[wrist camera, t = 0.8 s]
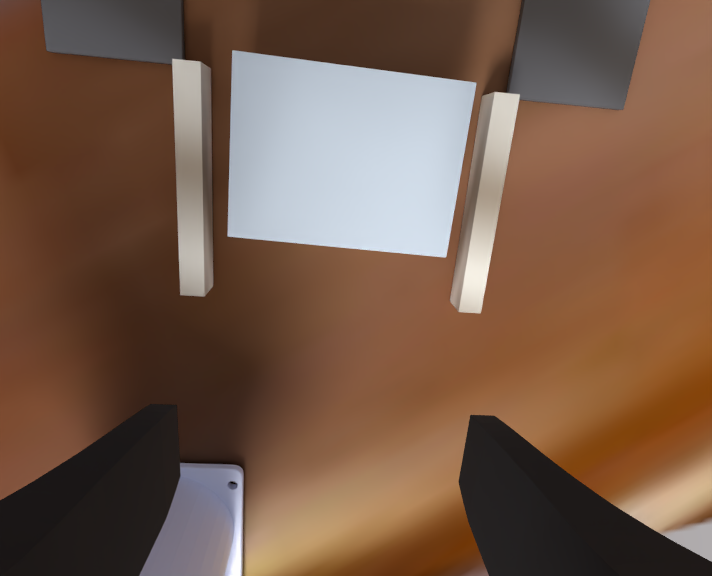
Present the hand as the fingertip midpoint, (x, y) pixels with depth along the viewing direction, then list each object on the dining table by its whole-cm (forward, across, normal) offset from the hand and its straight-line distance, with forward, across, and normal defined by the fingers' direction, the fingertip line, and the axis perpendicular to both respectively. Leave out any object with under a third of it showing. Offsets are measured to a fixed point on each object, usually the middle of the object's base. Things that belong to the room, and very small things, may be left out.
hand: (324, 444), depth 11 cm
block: (+11, 0, -6) cm, 13 cm away
